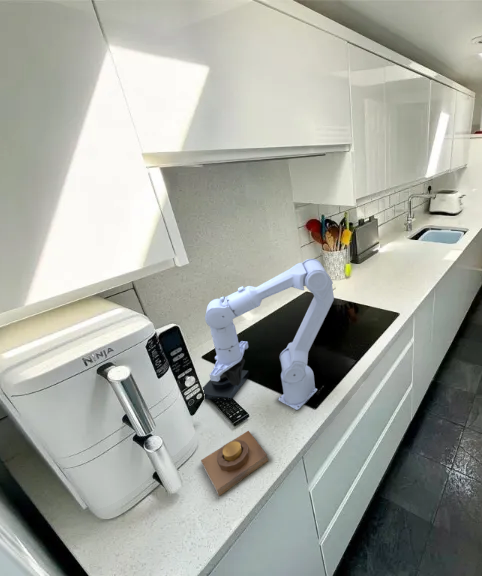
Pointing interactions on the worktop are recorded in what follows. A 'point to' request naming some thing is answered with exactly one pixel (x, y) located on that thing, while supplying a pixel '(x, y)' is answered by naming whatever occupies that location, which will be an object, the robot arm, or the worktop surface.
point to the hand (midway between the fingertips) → (236, 383)
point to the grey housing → (223, 388)
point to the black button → (223, 378)
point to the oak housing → (234, 463)
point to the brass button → (232, 451)
